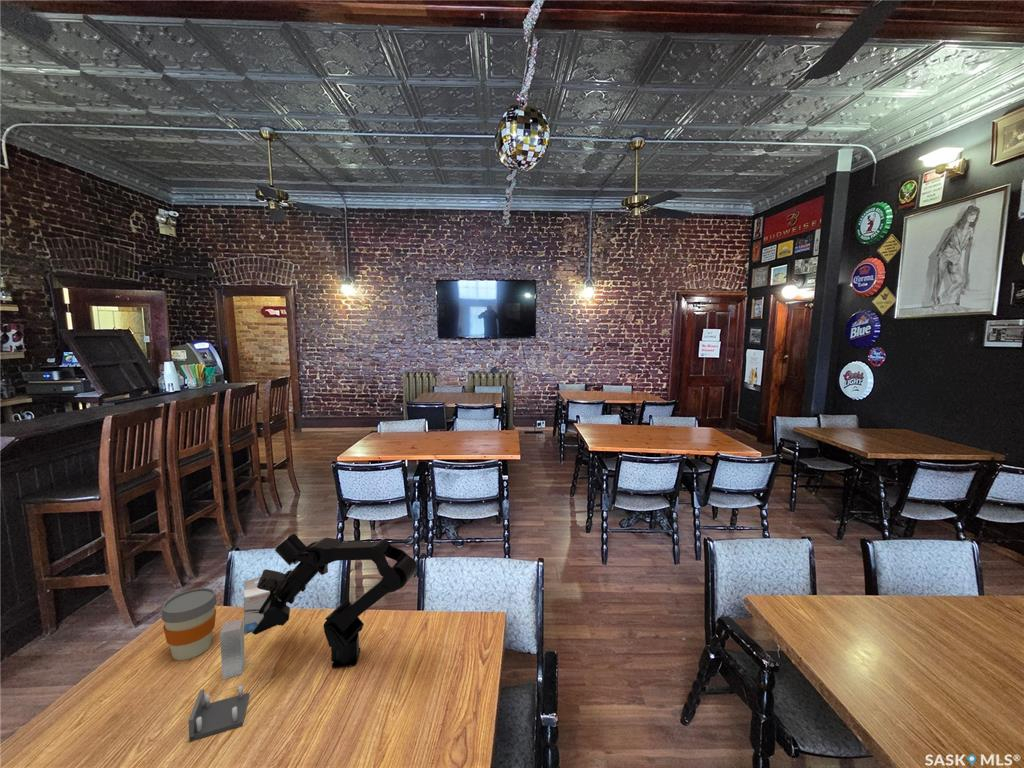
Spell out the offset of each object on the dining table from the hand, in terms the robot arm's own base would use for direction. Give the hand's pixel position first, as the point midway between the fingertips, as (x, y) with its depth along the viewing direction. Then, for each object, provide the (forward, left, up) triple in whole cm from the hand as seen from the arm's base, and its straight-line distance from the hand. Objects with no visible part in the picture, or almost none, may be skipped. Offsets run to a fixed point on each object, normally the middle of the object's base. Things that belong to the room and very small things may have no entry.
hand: (256, 623), depth 113 cm
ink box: (+7, -18, -12) cm, 23 cm away
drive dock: (+2, +17, -12) cm, 21 cm away
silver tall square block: (+6, +2, -12) cm, 13 cm away
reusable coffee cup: (+22, -9, -12) cm, 26 cm away
